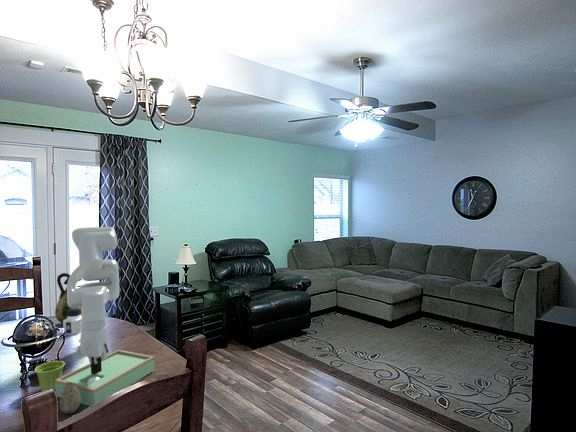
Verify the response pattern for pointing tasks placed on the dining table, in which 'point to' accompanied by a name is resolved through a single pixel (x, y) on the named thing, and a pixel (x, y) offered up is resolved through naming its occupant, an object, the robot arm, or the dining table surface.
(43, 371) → the plant pot
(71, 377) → the putting tray
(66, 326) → the container
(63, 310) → the ceramic jug
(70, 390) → the decorative egg
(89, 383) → the ball
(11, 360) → the dining table surface
